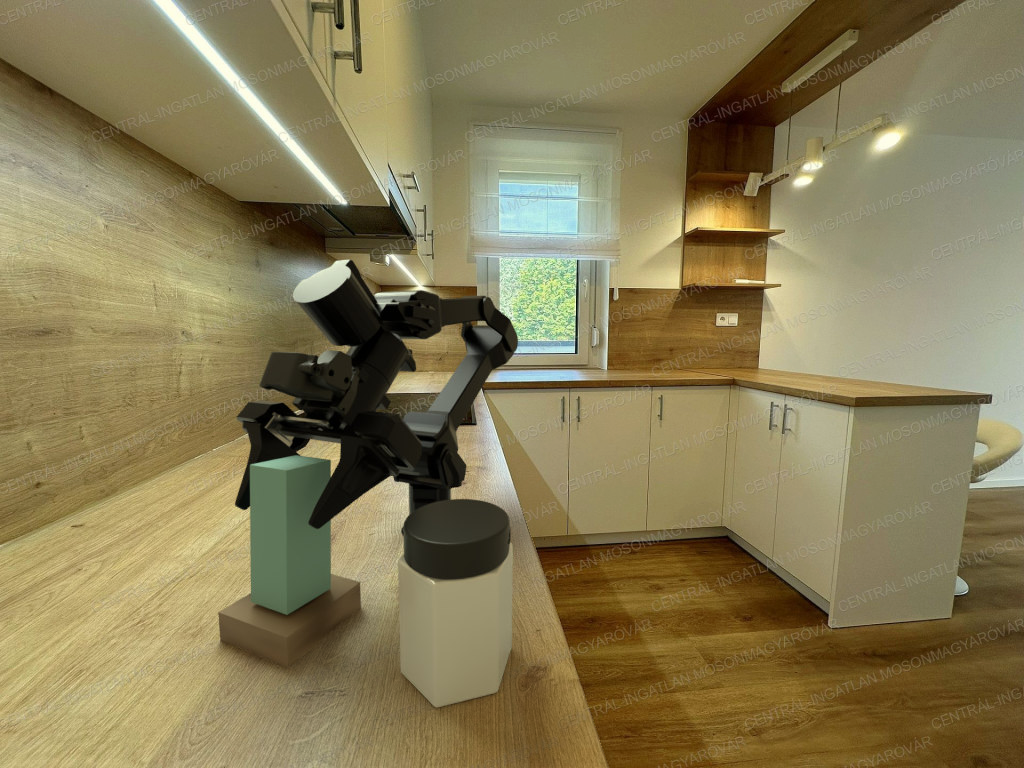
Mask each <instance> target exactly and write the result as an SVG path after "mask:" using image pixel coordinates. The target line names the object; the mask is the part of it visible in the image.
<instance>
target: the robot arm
mask: <svg viewBox="0 0 1024 768" xmlns="http://www.w3.org/2000/svg"><path fill="white" fill-rule="evenodd" d="M292 298H293V301H294V302H296V304H297V305H298V306H299V307H300V308H301V310H302V311H303V312H304V314H305V315H306V316H307V317H308V319H310V320H311V322H312V323H313V324H314V325H315V326H316V328H317V329H318V330H319V331H320V333H321V334H322V335H323V336H324V338H326V340H327V341H328V342H329V343H330V344H331V345H332V346H336V347H344V346H345V347H346V346H347V347H349V348H348V350H347V351H346V352H343V351H341V350H325V351H323V353H321V354H320V355H316V354H307V353H304V352H303V353H302V352H294V351H293V352H290V351H289V352H288V351H272V352H271V353H270V355H269V357H268V361H267V363H266V365H265V367H264V371H263V374H262V377H261V380H260V383H259V385H258V386H259V387H260V388H262V389H265V390H267V391H271V390H273V391H277V392H279V393H281V394H282V393H283V394H285V395H288V396H291V397H293V398H294V399H293V401H292V402H291V404H292V405H293V406H294V407H295V408H296V409H298V410H299V411H302V412H304V413H305V415H304V417H300V415H298V413H296V412H295V411H294V410H292V408H290V407H289V406H288V405H287V404H286V403H285V402H282V401H274V400H273V401H270V400H262V399H261V400H254V401H249V402H247V403H246V405H245V406H244V407H243V408H242V410H240V412H239V413H238V414H237V415H236V420H237V421H238V422H240V423H241V424H242V425H241V427H242V430H243V432H244V433H247V435H248V439H249V444H250V450H249V454H248V458H247V463H246V466H245V469H244V472H243V477H242V479H241V483H240V486H239V488H238V491H237V494H236V498H235V502H234V506H235V507H236V508H238V509H239V510H242V511H247V510H248V509H250V465H251V464H256V463H261V462H266V461H270V460H275V459H280V458H285V457H290V456H294V455H299V456H302V455H301V454H299V453H298V451H301V450H302V449H304V448H305V447H307V445H308V444H309V442H310V441H311V440H314V441H321V442H327V443H335V444H340V451H339V452H340V453H339V461H338V464H337V465H336V467H335V468H334V471H333V473H331V478H330V480H329V482H328V483H327V485H326V487H325V489H324V491H323V493H322V494H321V496H320V498H319V500H318V502H317V504H316V506H315V508H314V510H313V512H312V515H311V517H310V519H309V522H308V524H309V525H310V526H311V527H313V528H315V529H320V528H321V527H322V526H324V525H325V524H326V523H327V522H329V521H330V520H331V521H332V519H334V518H335V517H336V516H337V515H339V514H340V513H341V512H343V511H344V510H345V509H346V508H348V507H349V506H350V505H352V504H353V503H354V502H355V501H357V500H358V499H359V498H360V497H362V496H363V495H364V494H366V493H368V492H369V491H371V490H372V489H373V488H375V487H376V486H378V485H379V484H381V483H383V482H384V481H385V480H386V479H388V478H389V477H392V479H393V481H394V483H405V484H408V514H409V515H410V514H411V513H412V512H413V511H415V510H416V509H418V508H420V507H422V506H425V505H427V504H431V503H434V502H438V501H444V500H451V499H452V489H454V488H460V487H462V486H463V483H462V482H464V481H465V479H466V475H467V474H466V473H467V472H466V471H467V463H465V461H464V460H463V458H462V457H461V455H460V454H459V453H458V451H459V443H458V436H457V435H458V434H457V432H458V429H459V427H460V425H461V423H462V422H463V421H464V419H465V417H466V416H467V414H468V411H469V410H470V409H471V407H472V405H473V403H474V402H475V400H476V398H477V397H478V395H479V393H480V391H481V390H482V388H483V386H484V385H485V383H486V381H487V380H488V378H489V376H490V375H491V373H492V372H493V370H497V369H498V368H500V367H503V366H505V365H507V364H508V362H510V360H511V359H512V357H513V356H514V354H515V352H516V351H517V349H518V346H519V345H518V344H519V337H518V334H517V331H516V330H515V326H514V325H513V323H512V320H511V319H510V318H509V317H508V316H507V315H505V314H504V313H503V312H502V311H500V309H498V308H497V307H496V306H495V304H494V302H493V300H492V298H491V297H489V296H487V295H465V296H462V297H455V298H453V297H450V298H441V297H440V296H439V295H438V294H437V293H434V292H430V291H427V290H422V289H417V290H416V289H415V290H398V291H397V290H396V291H395V290H394V291H380V292H378V293H375V294H373V293H372V291H371V289H370V288H369V286H368V285H367V283H366V282H365V280H364V279H363V276H362V275H361V273H360V270H359V269H358V267H357V265H356V263H355V262H354V260H353V259H342V260H335V261H334V263H333V264H332V265H331V266H329V267H326V268H324V269H322V270H319V271H318V272H316V273H314V274H312V275H311V276H309V277H308V278H304V279H302V280H301V281H300V282H299V283H298V284H297V285H296V287H295V289H294V290H293V293H292ZM472 322H485V324H484V325H482V324H480V325H479V324H478V325H477V324H476V325H473V323H472ZM457 324H462V326H461V331H460V332H461V333H460V337H461V339H462V340H463V341H464V344H465V345H464V346H465V349H466V355H465V356H464V358H463V359H462V361H461V362H460V363H459V365H458V366H457V367H456V368H455V371H454V372H453V373H452V374H451V377H450V378H449V379H448V381H447V383H446V384H444V385H445V386H444V387H443V388H442V390H441V391H440V392H439V394H438V395H437V397H436V398H435V400H434V401H433V402H432V404H431V405H430V407H429V408H428V410H427V411H425V412H420V411H410V410H409V412H407V413H406V414H405V415H404V417H403V418H402V416H401V415H400V414H399V413H391V412H383V411H381V412H380V411H377V410H388V408H389V406H390V404H391V403H392V401H391V400H390V399H389V397H387V394H388V391H389V390H390V388H391V387H392V385H393V383H394V381H395V380H396V377H397V376H398V374H399V372H409V373H414V372H417V364H416V363H417V362H416V360H415V359H414V357H413V350H412V349H410V348H408V347H407V345H406V344H405V342H404V341H403V340H427V339H430V338H432V337H434V336H435V335H437V334H440V332H442V328H444V327H445V326H452V325H457ZM409 515H408V516H409ZM400 531H401V534H403V535H404V531H403V526H402V527H401V530H400Z"/></svg>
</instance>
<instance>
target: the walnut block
mask: <svg viewBox="0 0 1024 768" xmlns="http://www.w3.org/2000/svg"><path fill="white" fill-rule="evenodd" d="M361 595H362V594H361V582H360V581H358V580H354V579H350V578H347V577H344V576H339V575H336V574H332V573H331V589H329V590H328V591H326V592H324V593H323V594H321V595H319V596H318V597H316V598H314V599H313V600H311V601H309V602H308V603H306V604H304V605H303V606H301V607H299V608H298V609H296V610H294V611H293V612H291V613H289V614H288V615H286V614H283V613H280V612H277V611H275V610H272V609H269V608H266V607H264V606H261V605H258V604H255V603H253V602H251V592H250V593H249V594H247V595H245V596H243V597H242V598H240V599H238V600H237V601H235V602H233V603H232V604H229V605H228V606H226V607H224V608H223V609H221V610H220V611H218V612H217V613H218V614H217V615H218V626H219V641H221V642H224V643H226V644H229V645H231V646H234V647H236V648H238V649H240V650H243V651H245V652H247V653H250V654H252V655H255V656H257V657H259V658H261V659H263V660H266V661H269V662H271V663H274V664H276V665H278V666H281V667H283V668H285V669H287V670H289V668H291V667H292V666H293V665H295V664H296V663H297V662H298V661H299V660H301V659H302V658H303V657H304V656H305V655H306V654H308V653H309V652H310V651H311V650H312V649H313V648H315V647H316V646H317V645H318V644H320V642H322V641H323V640H324V639H325V638H327V637H328V636H329V635H330V634H332V632H334V631H335V630H336V629H337V628H338V627H340V626H342V625H341V624H343V623H345V622H346V621H347V620H348V619H349V618H350V617H351V616H353V614H355V613H356V612H357V611H359V610H360V608H362V601H361V600H362V598H361Z"/></svg>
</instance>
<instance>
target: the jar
mask: <svg viewBox="0 0 1024 768" xmlns="http://www.w3.org/2000/svg"><path fill="white" fill-rule="evenodd" d="M510 521H511V520H510V516H509V515H508V513H507V512H506V511H505V510H504V509H503V508H501V507H500V506H498V505H496V504H494V503H491V502H489V501H484V500H480V499H479V500H478V499H471V498H470V499H469V498H455V499H453V498H451V500H444V501H438V502H434V503H431V504H427V505H425V506H422V507H420V508H418V509H416V510H415V511H413V512H412V513H411V514H410V515H407V517H406V518H405V520H404V522H403V525H402V527H403V531H404V534H403V554H402V555H401V556H400V557H399V558H398V560H397V567H398V568H397V572H398V573H397V575H398V576H397V577H398V608H399V609H398V614H399V619H398V620H399V621H398V623H399V657H400V659H399V660H400V661H399V662H400V663H399V665H400V673H401V674H402V676H404V677H405V679H407V680H408V681H409V682H410V683H411V684H412V685H413V686H414V687H415V688H416V690H418V691H419V693H420V694H421V695H422V696H423V697H424V698H425V699H426V700H427V701H428V702H429V703H430V704H431V705H432V706H433V707H434V708H441V707H445V706H449V705H452V704H458V703H461V702H464V701H470V700H473V699H478V698H481V697H482V698H483V697H485V696H489V695H492V694H493V695H494V694H496V693H498V691H499V689H500V686H501V683H502V680H503V676H504V672H505V669H506V667H507V663H508V661H509V658H510V654H511V650H512V648H513V647H512V641H513V640H512V639H513V638H512V637H513V636H512V635H513V631H512V630H513V564H514V563H513V558H514V557H513V556H514V555H513V553H514V550H513V543H512V542H511V534H512V533H511V526H510V523H511V522H510Z"/></svg>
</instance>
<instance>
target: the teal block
mask: <svg viewBox="0 0 1024 768" xmlns="http://www.w3.org/2000/svg"><path fill="white" fill-rule="evenodd" d="M299 455H300V454H299ZM299 455H294V456H290V457H285V458H280V459H275V460H270V461H266V462H261V463H256V464H251V465H250V507H249V509H250V510H249V512H250V515H249V516H250V517H249V522H250V523H249V524H250V525H249V527H250V528H249V529H250V530H249V531H250V532H249V534H250V535H249V537H250V539H249V540H250V541H249V542H250V547H249V548H250V550H249V551H250V593H251V602H253V603H255V604H258V605H261V606H264V607H266V608H269V609H272V610H275V611H277V612H280V613H283V614H286V615H288V614H289V613H291V612H293V611H294V610H296V609H298V608H299V607H301V606H303V605H304V604H306V603H308V602H309V601H311V600H313V599H314V598H316V597H318V596H319V595H321V594H323V593H324V592H326V591H328V590H329V589H331V574H332V563H331V562H332V549H331V548H332V519H331V520H330V521H329V522H327V523H326V524H325V525H324V526H322V527H321V528H320V529H315V528H313V527H311V526H310V525H309V524H308V522H309V519H310V517H311V515H312V512H313V510H314V508H315V506H316V504H317V502H318V500H319V498H320V496H321V494H322V493H323V491H324V489H325V487H326V485H327V483H328V482H329V480H330V478H331V476H332V473H331V471H332V470H331V469H332V468H331V467H332V461H331V459H328V458H319V457H312V456H304V455H301V456H299Z"/></svg>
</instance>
